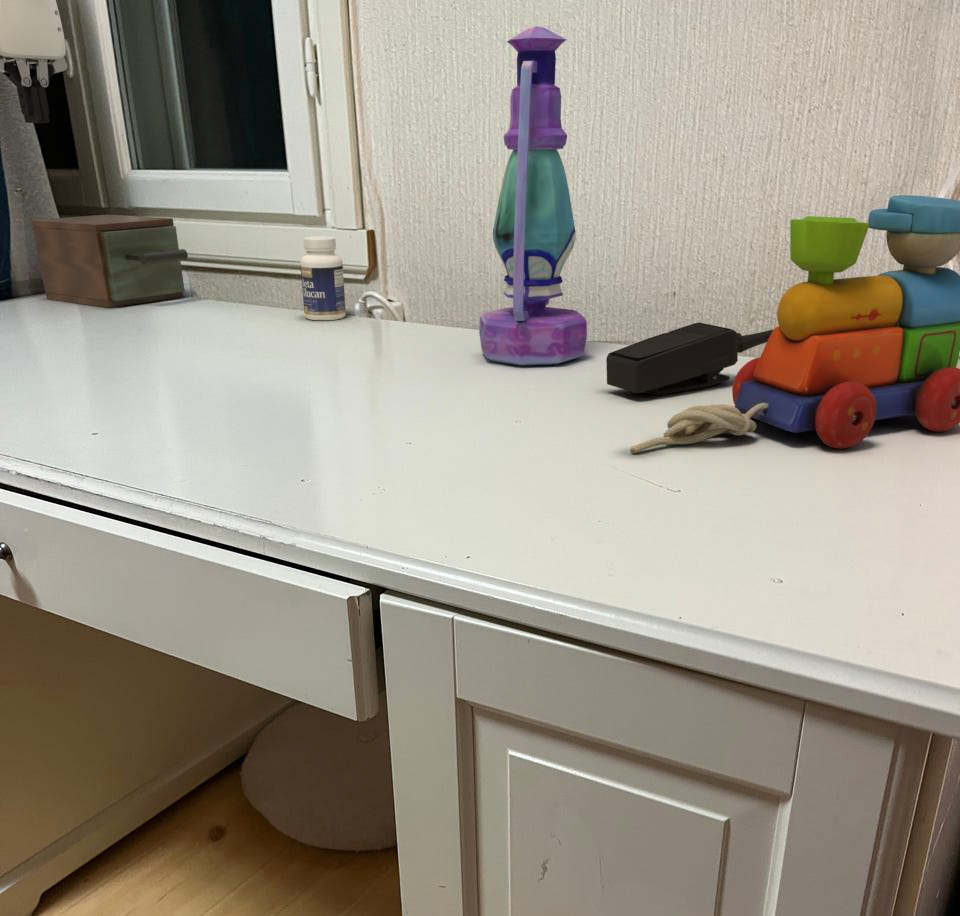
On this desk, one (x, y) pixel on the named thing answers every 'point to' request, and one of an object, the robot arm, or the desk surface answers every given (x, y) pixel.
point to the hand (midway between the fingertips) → (37, 122)
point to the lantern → (534, 219)
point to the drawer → (143, 262)
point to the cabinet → (84, 257)
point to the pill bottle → (322, 279)
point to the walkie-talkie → (679, 359)
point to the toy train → (853, 335)
